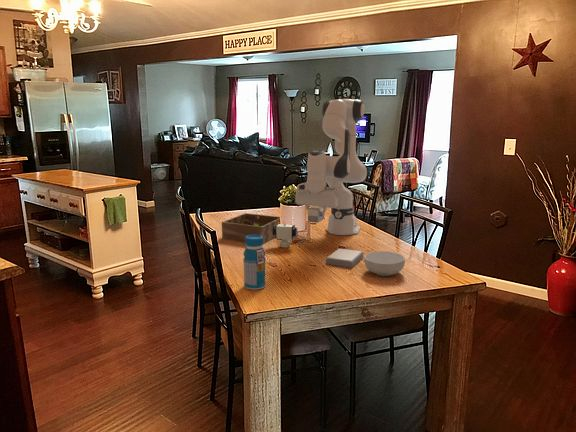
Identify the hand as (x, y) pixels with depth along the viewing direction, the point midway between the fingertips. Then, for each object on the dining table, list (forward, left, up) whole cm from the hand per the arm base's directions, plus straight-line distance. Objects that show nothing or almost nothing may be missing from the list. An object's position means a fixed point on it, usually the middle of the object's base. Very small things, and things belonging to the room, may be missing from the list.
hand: (316, 215), depth 220 cm
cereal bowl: (+12, +36, -19) cm, 42 cm away
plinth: (+4, +16, -19) cm, 25 cm away
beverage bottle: (+49, -5, -19) cm, 53 cm away
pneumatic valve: (-4, -18, -19) cm, 26 cm away
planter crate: (-14, -42, -19) cm, 48 cm away
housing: (0, 0, -2) cm, 2 cm away
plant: (-14, -42, -19) cm, 48 cm away
